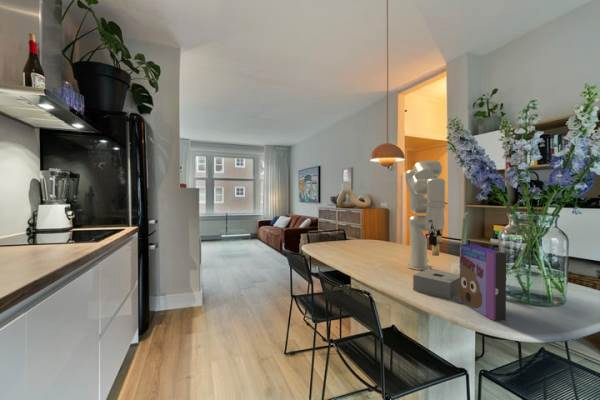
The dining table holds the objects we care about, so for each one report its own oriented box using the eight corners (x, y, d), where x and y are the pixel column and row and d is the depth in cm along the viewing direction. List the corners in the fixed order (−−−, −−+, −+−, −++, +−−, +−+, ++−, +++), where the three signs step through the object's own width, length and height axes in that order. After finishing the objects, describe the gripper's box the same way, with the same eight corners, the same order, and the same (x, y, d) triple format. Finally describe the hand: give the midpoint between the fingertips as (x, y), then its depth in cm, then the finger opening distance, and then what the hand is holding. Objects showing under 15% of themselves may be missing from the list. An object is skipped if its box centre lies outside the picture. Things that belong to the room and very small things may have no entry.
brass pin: (432, 253, 131) (432, 234, 131) (443, 255, 127) (443, 235, 127) (427, 255, 128) (427, 235, 127) (439, 256, 124) (439, 236, 124)
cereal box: (459, 301, 113) (459, 244, 113) (470, 301, 114) (470, 243, 113) (493, 321, 96) (493, 252, 96) (505, 320, 96) (506, 252, 96)
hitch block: (428, 282, 138) (428, 268, 138) (463, 290, 127) (463, 275, 126) (413, 289, 128) (413, 274, 128) (450, 299, 116) (450, 283, 116)
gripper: (435, 204, 135) (435, 241, 136) (419, 205, 124) (419, 245, 125) (451, 204, 130) (451, 243, 130) (436, 205, 119) (436, 247, 119)
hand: (435, 243), depth 127 cm, fingers closed on brass pin, 5 cm apart
